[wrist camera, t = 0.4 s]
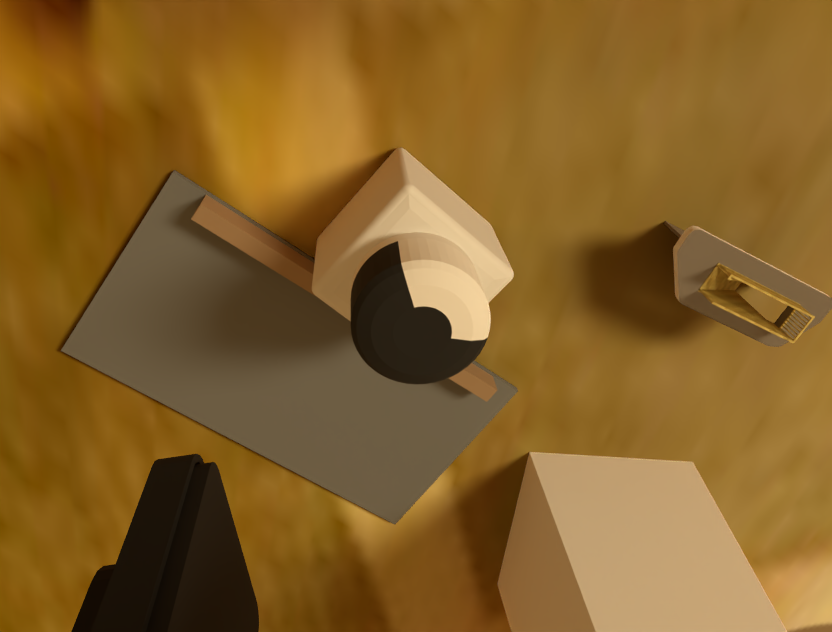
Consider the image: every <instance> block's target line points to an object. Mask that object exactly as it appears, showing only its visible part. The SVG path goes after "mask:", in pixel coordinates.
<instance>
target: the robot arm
mask: <svg viewBox="0 0 832 632" xmlns="http://www.w3.org/2000/svg"><path fill="white" fill-rule="evenodd" d="M258 628H259V615H258V606H257V601H256V597H255V594H254V591H253V587H252V584H251V580H250V577H249V573H248V570H247V566H246V563H245V559H244V556H243V552H242V549H241V545H240V542H239V539H238V535H237V532H236V528H235V525H234V521H233V518H232V514H231V511H230V507H229V504H228V500H227V497H226V493H225V490H224V487H223V483H222V480H221V476H220V473H219V470H218V467H217V465H216V463H214V462H211V463H204V462H203V459H202V458H201V456H200V455H198V454H192V455H185V456H178V457H171V458H164V459H158V460H156V461H155V462H154V464H153V466H152V468H151V471H150V473H149V476H148V479H147V481H146V484H145V487H144V490H143V492H142V495H141V498H140V500H139V503H138V506H137V508H136V511H135V514H134V517H133V519H132V522H131V525H130V527H129V530H128V533H127V535H126V538H125V541H124V543H123V546H122V549H121V552H120V554H119V557H118V560H117V562H116V564H114V565H108V566H103V567H102V568H100V569H99V570H98V571H97V572H96V574H95V576H94V578H93V580H92V582H91V584H90V587H89V589H88V592H87V594H86V597H85V599H84V602H83V604H82V607H81V609H80V612H79V614H78V617H77V619H76V622H75V624H74V627H73V629H72V632H258Z"/></svg>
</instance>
